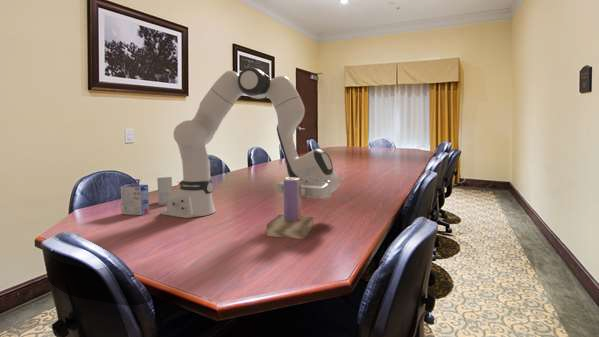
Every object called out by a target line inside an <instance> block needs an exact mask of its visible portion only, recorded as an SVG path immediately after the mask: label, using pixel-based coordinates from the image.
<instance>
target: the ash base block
mask: <svg viewBox="0 0 599 337" xmlns="http://www.w3.org/2000/svg"><path fill="white" fill-rule="evenodd" d="M313 229H314V217H313V216H304V215H301V220H300V221H299V222H296V223H288V222H286V221H285V220H284V214H279V215H277V216H276V217H274V218H273V219H271V221H269V222H268V223H266V236H268V237H276V238H278V237H279V238H287V239H300V240H304V239H305V238H306V237H307V236H308V235H309V234H310V232H311V231H312V230H313Z"/></svg>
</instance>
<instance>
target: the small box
mask: <svg viewBox="0 0 599 337" xmlns="http://www.w3.org/2000/svg"><path fill="white" fill-rule="evenodd" d="M156 178H157V180H156V182H157V202H158V206H167V201H168V199H169V198H170V197H171V196H172V195H173V182H172V181H173V179H172V174H164V175H163V174H160V175H157V176H156Z"/></svg>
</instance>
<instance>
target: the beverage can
mask: <svg viewBox="0 0 599 337" xmlns="http://www.w3.org/2000/svg"><path fill="white" fill-rule="evenodd" d="M283 182H284V194H283V215H284V220H285V221H286V222H288V223H296V222H299V221H300V220H301V216H302V196H301V180H300V178H298V177H289V176H287V177H285V178H284V179H283Z"/></svg>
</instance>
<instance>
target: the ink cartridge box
mask: <svg viewBox="0 0 599 337" xmlns="http://www.w3.org/2000/svg"><path fill="white" fill-rule="evenodd" d="M140 181H141V179H139V178H138V179H137V178H135V179H134V178H132V180H131V183H130V184H124V185H121V186H120V200H121V205H120V206H121V214H122V215H129V216H130V215H131V216H143V215H146V214H149V213H150V198H149V185H148V184H140Z"/></svg>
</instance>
